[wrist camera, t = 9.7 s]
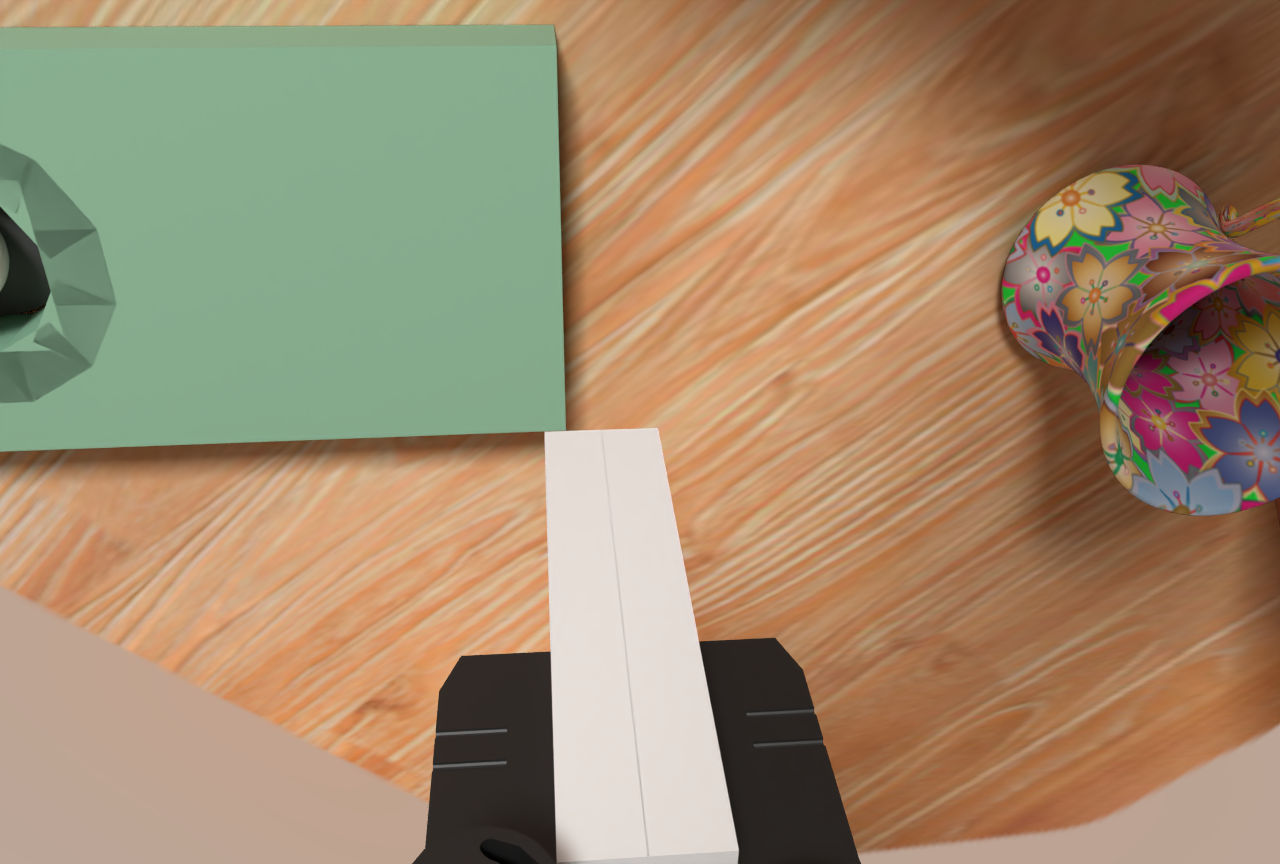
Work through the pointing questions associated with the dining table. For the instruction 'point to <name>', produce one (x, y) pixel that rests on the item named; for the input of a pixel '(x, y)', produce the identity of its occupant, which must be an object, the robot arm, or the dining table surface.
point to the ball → (3, 262)
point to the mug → (1159, 332)
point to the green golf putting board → (278, 234)
